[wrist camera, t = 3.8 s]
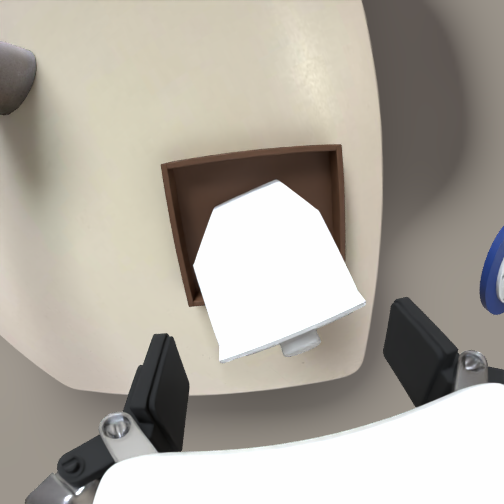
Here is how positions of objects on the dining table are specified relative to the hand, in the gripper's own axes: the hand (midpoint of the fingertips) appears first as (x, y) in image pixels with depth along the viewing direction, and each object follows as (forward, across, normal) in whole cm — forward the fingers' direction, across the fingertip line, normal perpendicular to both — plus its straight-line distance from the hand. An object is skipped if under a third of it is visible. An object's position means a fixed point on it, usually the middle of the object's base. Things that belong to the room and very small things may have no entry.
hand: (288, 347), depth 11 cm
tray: (+20, -1, 0) cm, 20 cm away
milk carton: (+20, -1, 0) cm, 20 cm away
